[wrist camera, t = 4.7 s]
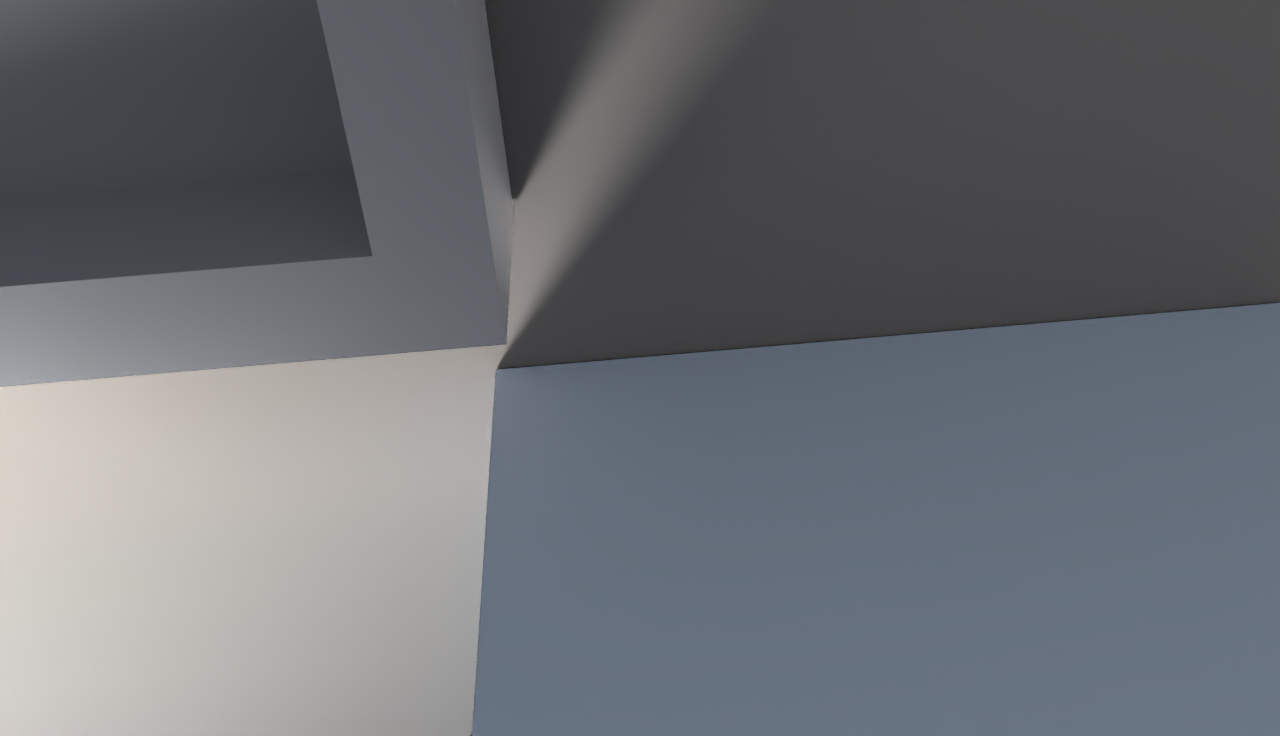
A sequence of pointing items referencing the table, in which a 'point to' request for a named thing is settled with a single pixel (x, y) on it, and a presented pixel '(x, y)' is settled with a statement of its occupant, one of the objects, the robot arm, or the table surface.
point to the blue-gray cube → (893, 536)
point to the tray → (246, 184)
